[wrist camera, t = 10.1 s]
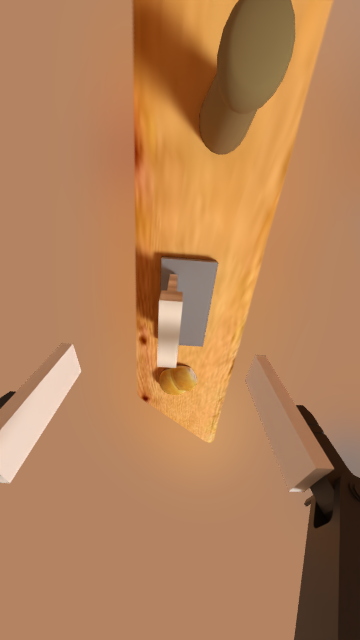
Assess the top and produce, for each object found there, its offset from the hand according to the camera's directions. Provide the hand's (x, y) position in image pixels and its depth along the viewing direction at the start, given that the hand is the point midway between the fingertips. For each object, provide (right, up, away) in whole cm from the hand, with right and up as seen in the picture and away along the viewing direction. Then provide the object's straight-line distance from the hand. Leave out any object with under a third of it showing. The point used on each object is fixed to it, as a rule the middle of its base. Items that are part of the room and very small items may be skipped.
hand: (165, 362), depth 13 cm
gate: (0, +5, +18) cm, 19 cm away
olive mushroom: (+6, +27, +8) cm, 29 cm away
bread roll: (+1, -11, +30) cm, 32 cm away
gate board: (+2, +6, +20) cm, 21 cm away
